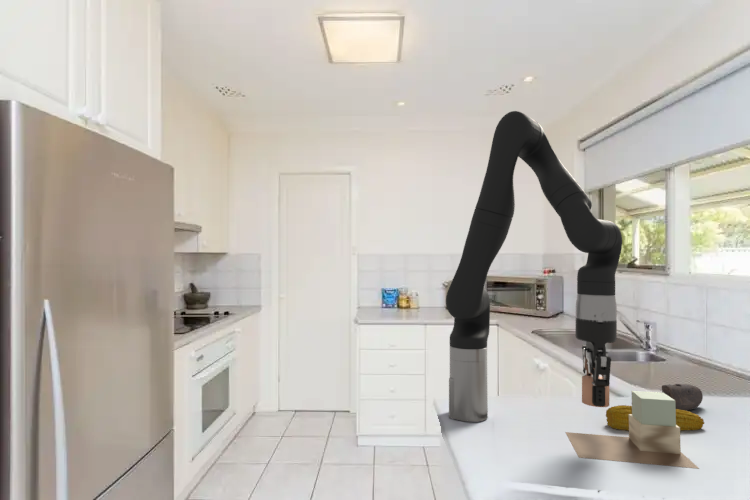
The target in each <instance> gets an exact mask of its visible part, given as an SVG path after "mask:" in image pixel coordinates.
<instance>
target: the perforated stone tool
mask: <svg viewBox="0 0 750 500" xmlns="http://www.w3.org/2000/svg"><path fill="white" fill-rule="evenodd" d="M661 391H662V392H661V393H665V394H666V395H668V396H669V397H671V398H672V399H674V400H675V407H676V409H679V410H685V411H688V412H689V411H691V410H694V409H696V408H698V407H699V406H700V405H701V403H702V401H703V399H704V396H703V395H704V394H703V392H702V390H701V389H700V388H699V387H698V386H695V385H692V384H688V383H675V384H663V385H661Z"/></svg>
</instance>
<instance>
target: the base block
mask: <svg viewBox="0 0 750 500" xmlns="http://www.w3.org/2000/svg"><path fill="white" fill-rule="evenodd" d="M628 437H629V438H630V439H631V441H632V442H633V443H634V444H635V445H636V446H637V447H638V448H639V450H640V451H651V452H662V453H674V454H681V430H680V427H678V426H677V425H676V427H675V426H661V425H648V424H641V423H640V422H639V421H638V420H637V419H636V418H635V417H634V416H633V415H632V414H629V430H628Z"/></svg>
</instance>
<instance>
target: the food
mask: <svg viewBox="0 0 750 500" xmlns="http://www.w3.org/2000/svg"><path fill="white" fill-rule="evenodd" d="M629 414H632V405H627V404H625V405H622V404H621V405H619V404H618V405H614V406H611V407H609V408H607V409H606V412H605V417H606V424H607V426H608V427H611V428H612V429H614V430H619V431H629ZM704 420H705V419H704V417H703V418H702V417H701V416H700V415H699V414H696V413H694V412H691V411H689V410H688V411H685V410H679V409H676V425H677V426H678V427H680V432H681V431H698V430H702V428H703V427H704V424H705V421H704Z"/></svg>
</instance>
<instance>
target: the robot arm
mask: <svg viewBox="0 0 750 500" xmlns="http://www.w3.org/2000/svg"><path fill="white" fill-rule="evenodd" d="M518 158H519V159H521V160H522V161H523V162H524V163H525V164H526V165H528V167H530V169H532V171H533V172H534V174H535V176H536V177H537V180H538V182H539V184H540V185H539V186H540V188H541V190H542V191H541V192H542V193H543V195H544V196H545V198H546V200H547V201H548V203H549V204H550V206H551V208H553V210H554V211H555V213H556V214H557V215H558V216H559V218H560V220H561V224H562V227H563V230H564V231H565V234H566V236H567V238H568V241H570V243H571V245H573V246H574V248H576V249H577V250H578V251H580V252H583V253H585V254H586V253H587V260H586V263H585V265H583V266H580V267H579V268H578V270H577V274H576V275H577V276H576V277H577V278H576V280H577V281H576V283H577V285H576V293H577V294H576V301H575V333H574V334H575V338H576V339H577V340H579V341H581V342H582V341H583V342H585V345H584V344H583V345H582V347H581V349H582V372H583V375H584V376H588V375H590V376H592V403H593V405H594V406H602V407H601V408H604V407H603V406H605V387H607V386H609V387H610V385H611V383H610V381H611V380H610V377H611V366H612V365H611V364H612V357H611V356H609V354H610V353H609V352H608V351H607V348H606V344H607V343H608V344H612V343H615V342H617V338H618V336H617V335H618V334H617V331H618V330H617V326H618V325H617V322H618V320H617V319H618V318H617V314H618V313H617V311H618V310H617V309H618V308H617V301H616V300H617V299H616V271H617V269H618V266H619V262H620V257H621V252H622V248H623V236H622V232H621V230H620V228H619V226H618V225H617V224H616V223H615V222H613V221H610V220H606V219H598V218H597V217H596V216H594V214H593V213H592V210H591V209H592V207H593V205H592V204H593V202H592V201H591V198H590V197H589V196H588V194H587V193H586V192H585V190H584V189H583V188H582V186H581V185H580V184H579V183H578V182H577V180H576V179H575V177H574V176H573V175H572V174H571V173H570V171H569V170H568V169H567V168H566V167H565V165H564V164H563V163H562V161H561V159H560V158H559V156H557V154H556V152H555V150H554V148H553V147H552V144H551V142H550V141H549V139H548V136H547V134H546V132H545V131H544V128H543V127H542V126H541V124H540V123H539V122H537V121H536V120H534V119H533V118H532V117H530V116H529V115H527V114H525V113H523V112H521V111H519V110H513V111H509V112H507V113H505V115H503V116H502V117H501V118H500V120H499V121H498V123H497V124H496V127H495V130H494V133H493V137H492V143H491V147H490V151H489V158H488V163H487V167H486V171H485V174H484V178H483V182H482V184H481V188H480V192H479V195H478V198H477V202H476V205H475V208H474V210H473V215H472V218H471V221H470V225H469V228H468V232H467V236H466V238H465V241H464V242H465V243H464V245H463V250H462V253H461V257H460V261H459V263H458V266H457V268H456V270H455V272H454V273H455V274H454V276H453V278H452V280H451V283H450V285H449V287H448V290H447V292H446V296H445V305H446V309H447V311H448V313H449V314H450V316H451V317H452V318H454V319H453V327H452V331H451V332H450V334H449V378H448V419H454V420H456V421H457V420H458V421H461V422H469V423H477V422H483V421H486V420H487V419H488V411H489V407H488V406H489V405H488V340H489V335H490V325H491V324H490V323H491V321H490V319H491V310H490V309H491V302H490V296H489V295H490V294H489V293H488V290H487V289H486V288H485V284H486V281H487V277H488V274H489V270H490V268H491V265H492V263H493V262H494V260H495V259H496V257H497V255H498V254H499V252H500V250H501V248H502V247H503V246H504V242H505V241H506V239H507V236H508V233H509V231H510V228H511V224H512V221H513V219H514V214H515V210H516V209H515V207H516V204H515V203H516V202H515V189H514V186H515V185H514V172H515V170H516V165H517V161H518ZM599 376H601V377H602V379H598V377H599ZM594 406H593V407H594Z"/></svg>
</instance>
